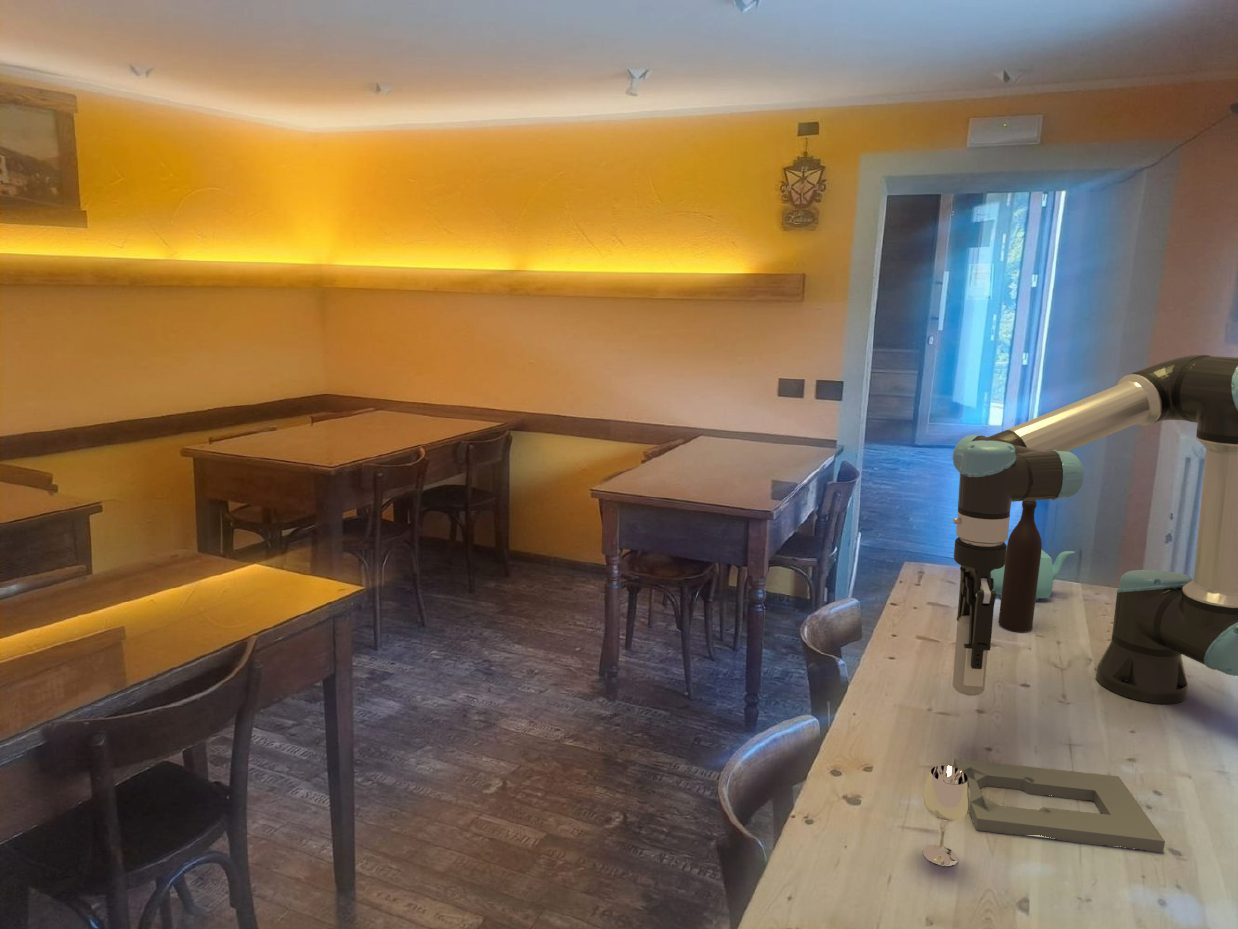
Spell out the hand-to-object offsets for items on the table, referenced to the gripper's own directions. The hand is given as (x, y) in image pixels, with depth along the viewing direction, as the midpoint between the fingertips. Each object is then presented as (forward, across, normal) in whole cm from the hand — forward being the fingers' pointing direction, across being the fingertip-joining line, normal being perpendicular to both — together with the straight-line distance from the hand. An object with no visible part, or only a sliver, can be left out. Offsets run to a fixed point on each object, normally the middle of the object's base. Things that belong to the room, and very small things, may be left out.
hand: (969, 677), depth 137 cm
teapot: (+15, -84, +31) cm, 91 cm away
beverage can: (+3, 0, 0) cm, 3 cm away
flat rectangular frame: (+13, +14, +9) cm, 22 cm away
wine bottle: (+14, -60, +23) cm, 66 cm away
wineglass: (+13, +29, -9) cm, 33 cm away
